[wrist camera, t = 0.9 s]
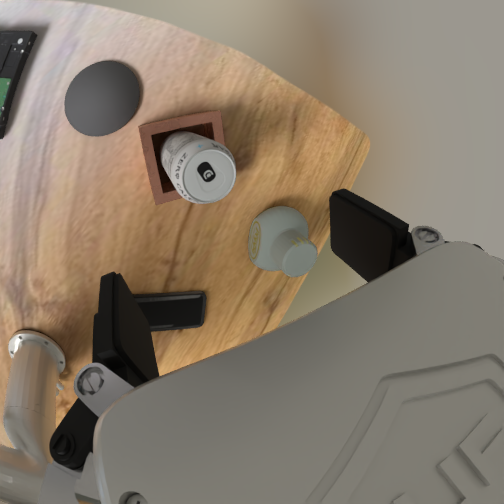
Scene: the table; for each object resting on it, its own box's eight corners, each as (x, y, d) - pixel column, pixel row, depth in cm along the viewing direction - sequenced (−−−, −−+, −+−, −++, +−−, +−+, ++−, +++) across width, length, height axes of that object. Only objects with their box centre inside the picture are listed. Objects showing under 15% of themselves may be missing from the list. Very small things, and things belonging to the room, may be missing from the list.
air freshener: (284, 258, 51) (315, 288, 43) (242, 262, 48) (269, 296, 40) (296, 201, 46) (333, 224, 39) (251, 200, 43) (283, 225, 35)
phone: (118, 298, 40) (207, 293, 47) (118, 293, 41) (205, 289, 48) (122, 333, 44) (203, 327, 50) (122, 329, 45) (201, 323, 51)
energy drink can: (174, 182, 37) (199, 222, 25) (149, 148, 33) (160, 170, 21) (210, 156, 37) (253, 183, 25) (187, 121, 33) (221, 128, 22)
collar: (220, 177, 39) (230, 185, 36) (153, 194, 36) (155, 205, 33) (210, 110, 34) (220, 110, 30) (138, 126, 31) (138, 127, 28)
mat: (144, 123, 31) (145, 123, 31) (73, 146, 28) (72, 146, 28) (134, 53, 26) (134, 52, 26) (60, 76, 23) (60, 75, 23)
